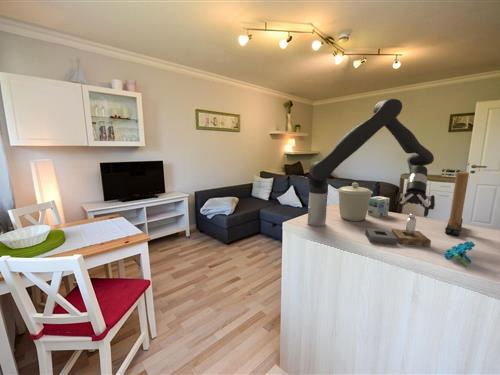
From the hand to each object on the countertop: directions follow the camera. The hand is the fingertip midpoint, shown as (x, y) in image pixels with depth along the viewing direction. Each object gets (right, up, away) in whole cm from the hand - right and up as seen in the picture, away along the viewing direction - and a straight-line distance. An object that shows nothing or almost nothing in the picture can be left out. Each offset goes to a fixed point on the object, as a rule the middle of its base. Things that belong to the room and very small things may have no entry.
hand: (412, 214), depth 98 cm
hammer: (+28, -10, +11) cm, 32 cm away
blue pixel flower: (+4, -15, -17) cm, 23 cm away
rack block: (-2, -12, -1) cm, 12 cm away
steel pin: (-2, -12, -1) cm, 12 cm away
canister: (-13, -6, +30) cm, 33 cm away
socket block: (-14, -11, +1) cm, 18 cm away
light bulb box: (+6, -5, +37) cm, 38 cm away
